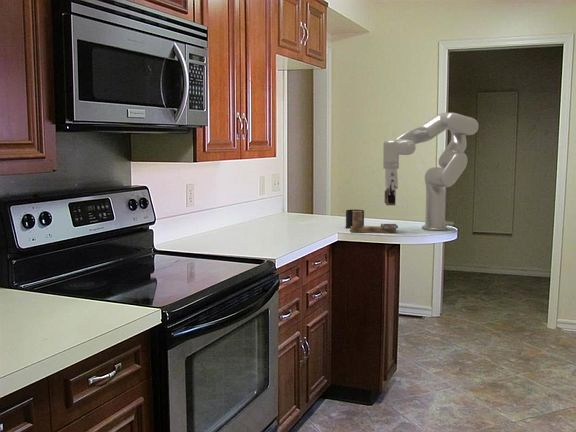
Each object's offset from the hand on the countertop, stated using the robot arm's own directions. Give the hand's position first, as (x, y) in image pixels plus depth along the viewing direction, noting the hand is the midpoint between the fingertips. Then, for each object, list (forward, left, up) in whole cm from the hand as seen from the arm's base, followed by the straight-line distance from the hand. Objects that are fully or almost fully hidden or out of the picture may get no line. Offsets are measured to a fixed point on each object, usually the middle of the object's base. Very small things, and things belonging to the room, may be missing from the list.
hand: (390, 202), depth 309 cm
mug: (+15, -16, -15) cm, 27 cm away
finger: (0, 0, -1) cm, 1 cm away
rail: (+8, 0, -15) cm, 17 cm away
